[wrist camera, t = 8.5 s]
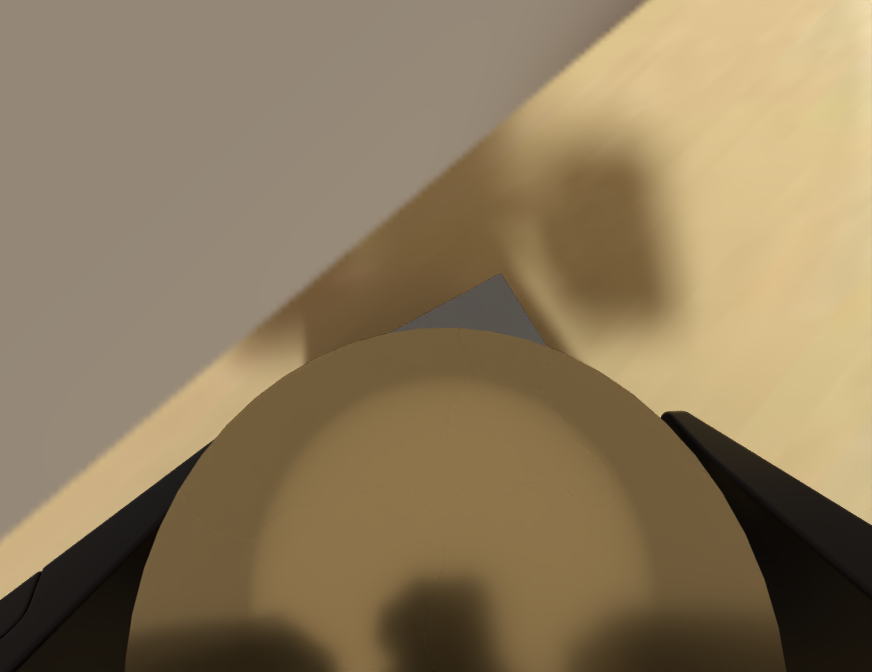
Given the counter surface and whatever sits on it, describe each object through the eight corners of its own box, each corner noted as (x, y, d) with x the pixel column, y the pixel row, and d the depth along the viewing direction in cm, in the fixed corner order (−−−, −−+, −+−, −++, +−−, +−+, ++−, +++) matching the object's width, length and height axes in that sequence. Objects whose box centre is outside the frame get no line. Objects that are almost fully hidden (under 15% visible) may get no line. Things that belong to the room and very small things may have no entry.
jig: (414, 657, 14) (398, 743, 10) (303, 410, 17) (255, 405, 13) (627, 531, 15) (686, 569, 11) (491, 308, 17) (500, 272, 13)
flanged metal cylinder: (476, 565, 15) (570, 1363, 2) (369, 487, 16) (-7, 736, 3) (544, 450, 16) (900, 552, 3) (438, 381, 16) (365, 231, 4)
